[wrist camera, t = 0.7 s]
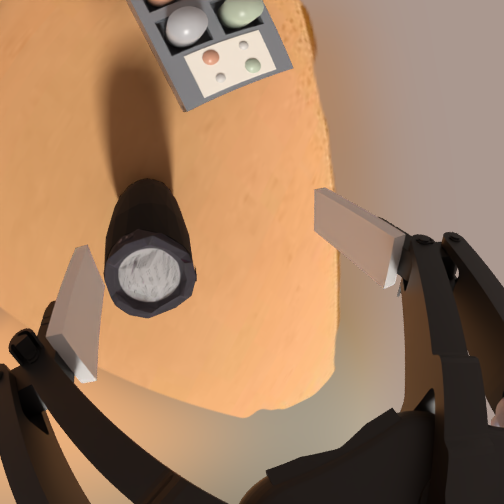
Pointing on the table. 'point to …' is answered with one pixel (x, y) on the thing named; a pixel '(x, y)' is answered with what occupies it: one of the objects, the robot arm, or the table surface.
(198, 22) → the button grey
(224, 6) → the button sage
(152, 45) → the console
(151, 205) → the portable speaker
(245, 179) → the table surface
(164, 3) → the button terracotta
